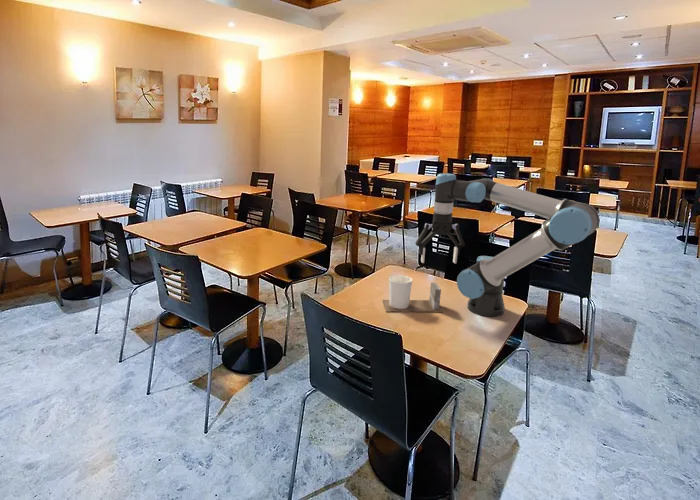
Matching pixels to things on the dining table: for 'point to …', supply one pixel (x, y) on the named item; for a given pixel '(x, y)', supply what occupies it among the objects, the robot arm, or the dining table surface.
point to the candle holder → (399, 291)
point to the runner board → (421, 303)
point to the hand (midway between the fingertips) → (438, 262)
